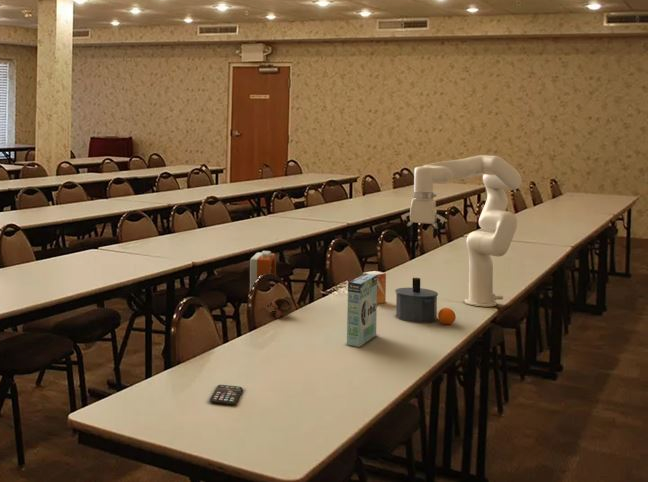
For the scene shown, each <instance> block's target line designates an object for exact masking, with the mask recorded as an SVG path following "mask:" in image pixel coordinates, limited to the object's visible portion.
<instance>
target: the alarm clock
mask: <svg viewBox="0 0 648 482" xmlns="http://www.w3.org/2000/svg"><path fill="white" fill-rule="evenodd" d="M267 273H268V274H274V275H275V276H276V277H277V255H276V253H274V252H272V251H270V250H262V251H261V252H259V251H258V252H256V253H255V254H253V256H252V257H251V258H250V260H249V292H250V291H251V289H252V287H253V285H254V283H255V281H256V280H257V279H258V277H259V276H260V275H262V274H267Z"/></svg>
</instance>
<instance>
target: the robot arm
mask: <svg viewBox="0 0 648 482" xmlns="http://www.w3.org/2000/svg"><path fill="white" fill-rule="evenodd" d="M413 173H414V175H413V198H411V201H410V209H409V212H406V213H404V214H401V215H400V216H401V219H402V221H403V223H404V224H405V225H406V226H407V234H408V236H409V237H411V236H413V226H412V225H413V224H414V223H418V224H431V225H432V226H433V229H432V238H433V239H436V238H437V237H438V235H439V228H440V227H441V226H442V225H443V224H444V223H445V221H446V218H445V217H444V216H442V215H441V214H438V213H437V203H436V199H435V198H437V197H438V195H437V193H434V184H435V185H446V184H448V183H451V181H452V180H465V179H470V178H473V177H478V176H482V183H483V185H484V187H485V190H486V193H487V194H486V195H487V197H486V201H485V203H484V206H483V207H482V211H481V213H480V215H479V219H478V226H479V227H480V229H482V230H485V231H482V230H474V231H472V232H470V233H469V234H468V235H467V237H466V249H467V253H468V298H465V299H464V303H465V304H466V305H468V306H475V307H484V308H488V307H489V308H490V307H496V306H497V300H499V301H500V300H504V296H503V295H502V294H498V295H497V294H495V293H494V292H493V291H494V289H493V286H494V285H493V283H494V279H493V277H494V276H493V275H494V263H493V259H492V257H491V256H493V257H503V256H505V255H506V254H507V252H508V250H509V248H510V246H511V243H512V242H513V238H514V236H515V233H516V232H517V227H518V219H517V217H516V215H515V214H514V213H513V212H511V211H507V207H508V204H509V199H508V195H507V194H506V191H505V190H508V191H515V190H517V189H519V188H520V187H521V185H522V182H523V181H522V176H521V174H520V173H519V172H518V170H517V169H516V168H515V167H514V166H512V165H511V164H510V163H509V162H508V161H507V160H505V159H504V158H503V157H500V156H498V155H490V154H489V155H487V154H479V155H474V156H469V157H465V158H460V159H452V160H446V161H438V162H432V163H427V164H424V165H421V166H420V165H419V166H416V167H414V172H413ZM408 216H409V220H408V219H407V217H408ZM437 219H439V220H440V221H439V222H438V223H437ZM487 231H488V232H487Z"/></svg>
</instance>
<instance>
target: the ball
mask: <svg viewBox="0 0 648 482" xmlns="http://www.w3.org/2000/svg"><path fill="white" fill-rule="evenodd" d="M437 319H438V320H439V322H440V323H442V324H443V325H448V326H449V325H452V324H454V322H455V321H456V313H455V312H454V309H451V308H449V307H443V308H440V310H439V311H438V312H437Z"/></svg>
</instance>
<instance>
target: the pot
mask: <svg viewBox="0 0 648 482" xmlns="http://www.w3.org/2000/svg"><path fill="white" fill-rule="evenodd" d="M395 295H396V297H395V298H396V299H395V300H396V302H395V304H396V305H395V309H396V310H395V314H396V318H397V319H399V320H402V321H404V322H405V321H406V322H412V323H425V324H426V323H433V322H436V321H437V319H438V296H436V297H430V298H417V297H408V296H403V295H399V294H397V293H396V292H395Z"/></svg>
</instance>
